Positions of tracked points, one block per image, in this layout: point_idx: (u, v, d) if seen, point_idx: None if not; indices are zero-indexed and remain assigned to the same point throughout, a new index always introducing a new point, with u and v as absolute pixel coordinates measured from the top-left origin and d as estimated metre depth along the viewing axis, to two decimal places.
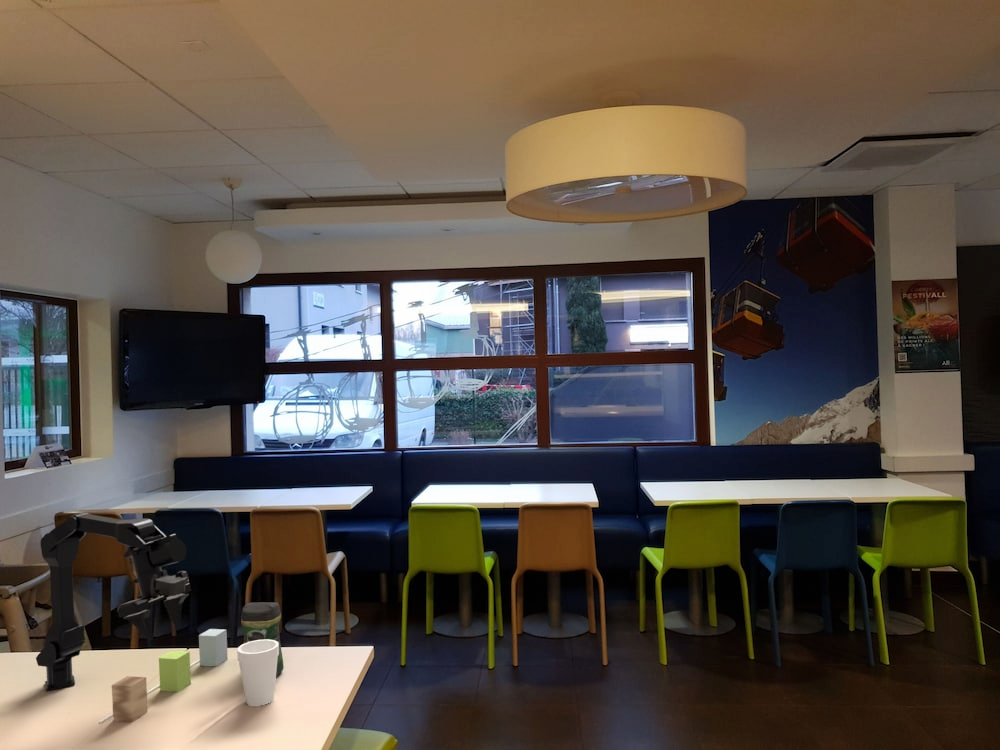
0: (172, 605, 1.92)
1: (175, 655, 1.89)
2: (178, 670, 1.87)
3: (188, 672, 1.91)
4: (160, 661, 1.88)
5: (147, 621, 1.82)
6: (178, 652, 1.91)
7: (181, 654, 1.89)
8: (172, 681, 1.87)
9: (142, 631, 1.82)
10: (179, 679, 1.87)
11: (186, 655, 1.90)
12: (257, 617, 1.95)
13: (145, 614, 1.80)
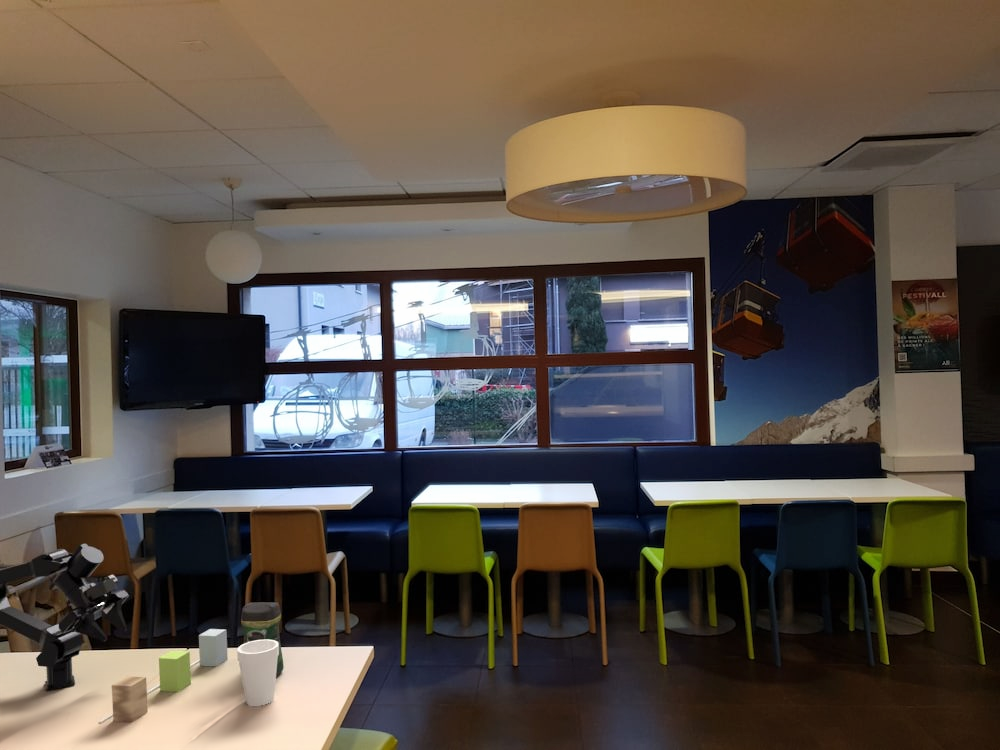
0: (112, 615, 1.98)
1: (175, 655, 1.89)
2: (178, 670, 1.87)
3: (188, 672, 1.91)
4: (160, 661, 1.88)
5: (95, 624, 1.90)
6: (178, 652, 1.91)
7: (181, 654, 1.89)
8: (172, 681, 1.87)
9: (95, 635, 1.89)
10: (179, 679, 1.87)
11: (186, 655, 1.90)
12: (257, 617, 1.95)
13: (89, 617, 1.88)
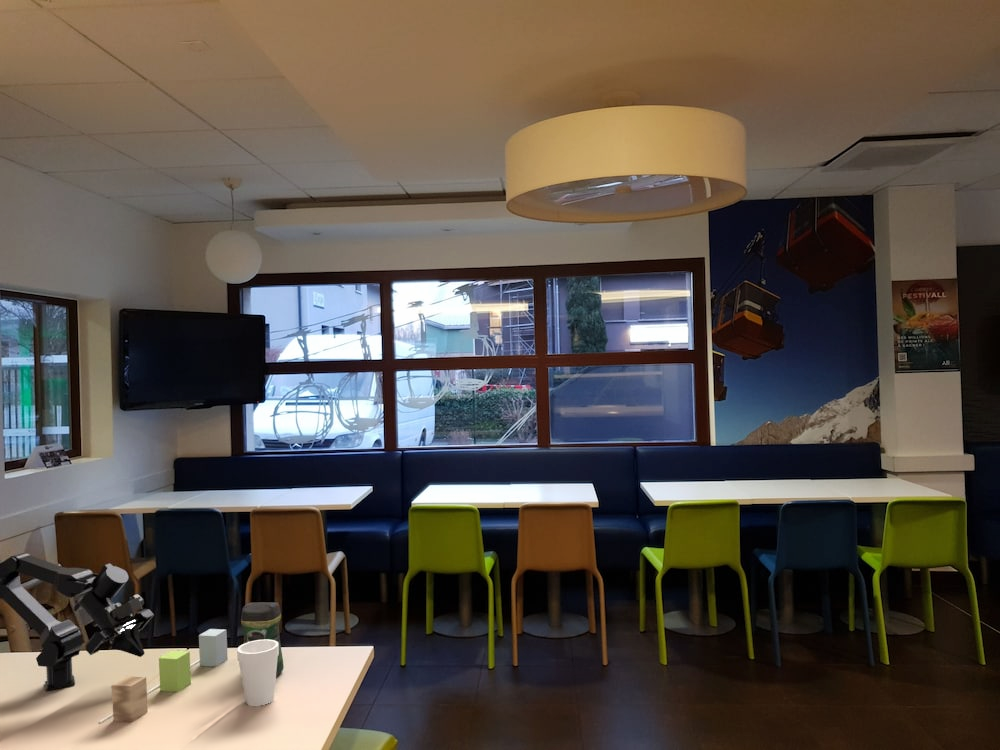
0: None
1: (175, 655, 1.89)
2: (178, 670, 1.87)
3: (188, 672, 1.91)
4: (160, 661, 1.88)
5: (131, 639, 1.91)
6: (178, 652, 1.91)
7: (181, 654, 1.89)
8: (172, 681, 1.87)
9: (131, 651, 1.91)
10: (179, 679, 1.87)
11: (186, 655, 1.90)
12: (257, 617, 1.95)
13: (125, 633, 1.90)
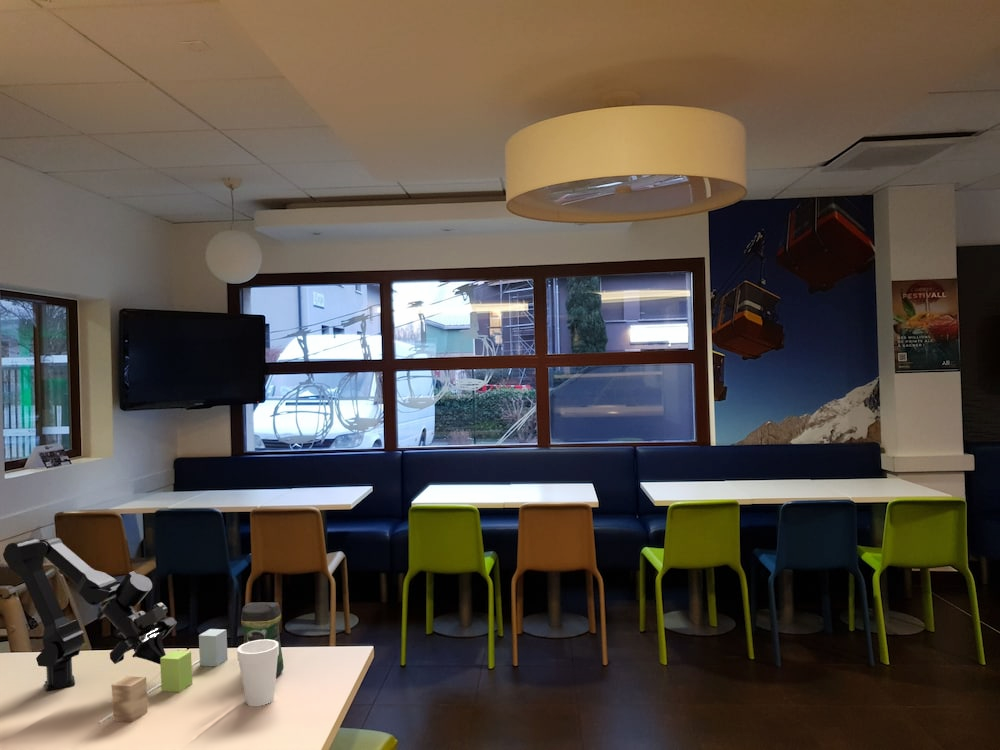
0: None
1: (176, 655, 1.89)
2: (180, 670, 1.87)
3: (189, 672, 1.91)
4: (161, 661, 1.87)
5: (155, 648, 1.90)
6: (179, 652, 1.91)
7: (182, 654, 1.89)
8: (173, 681, 1.87)
9: (155, 660, 1.90)
10: (180, 679, 1.87)
11: (188, 655, 1.90)
12: (257, 617, 1.95)
13: (149, 642, 1.89)
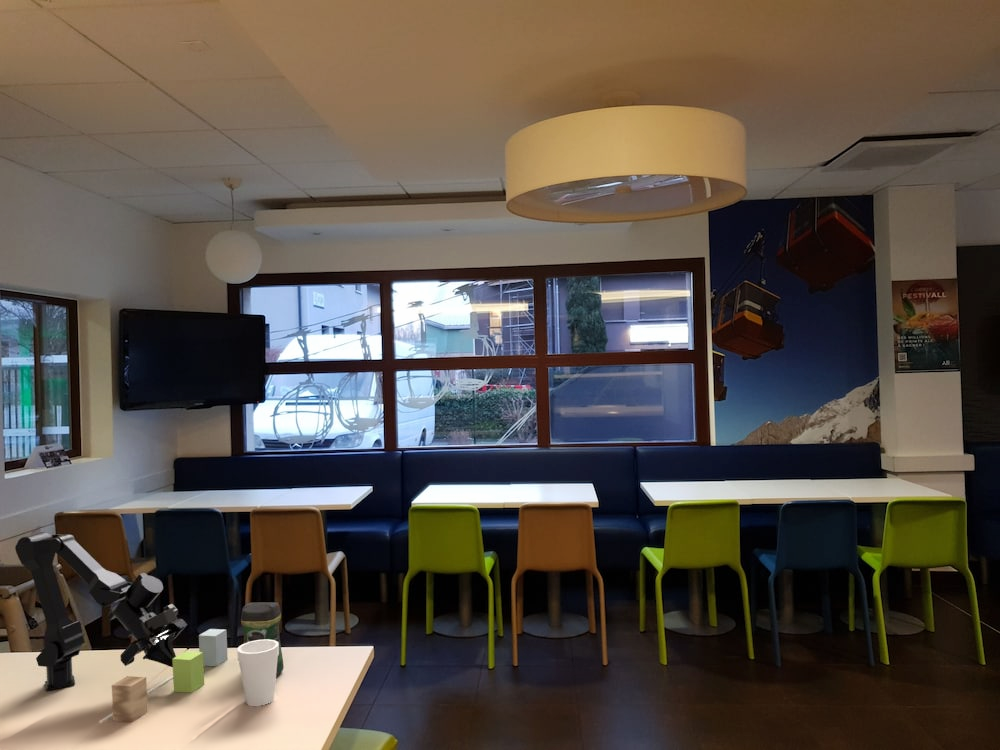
0: None
1: (188, 656, 1.88)
2: (192, 671, 1.86)
3: (201, 672, 1.90)
4: (174, 662, 1.87)
5: (165, 650, 1.89)
6: (191, 653, 1.90)
7: (194, 655, 1.89)
8: (186, 682, 1.86)
9: (165, 662, 1.89)
10: (193, 680, 1.86)
11: (200, 656, 1.89)
12: (257, 617, 1.95)
13: (160, 644, 1.88)
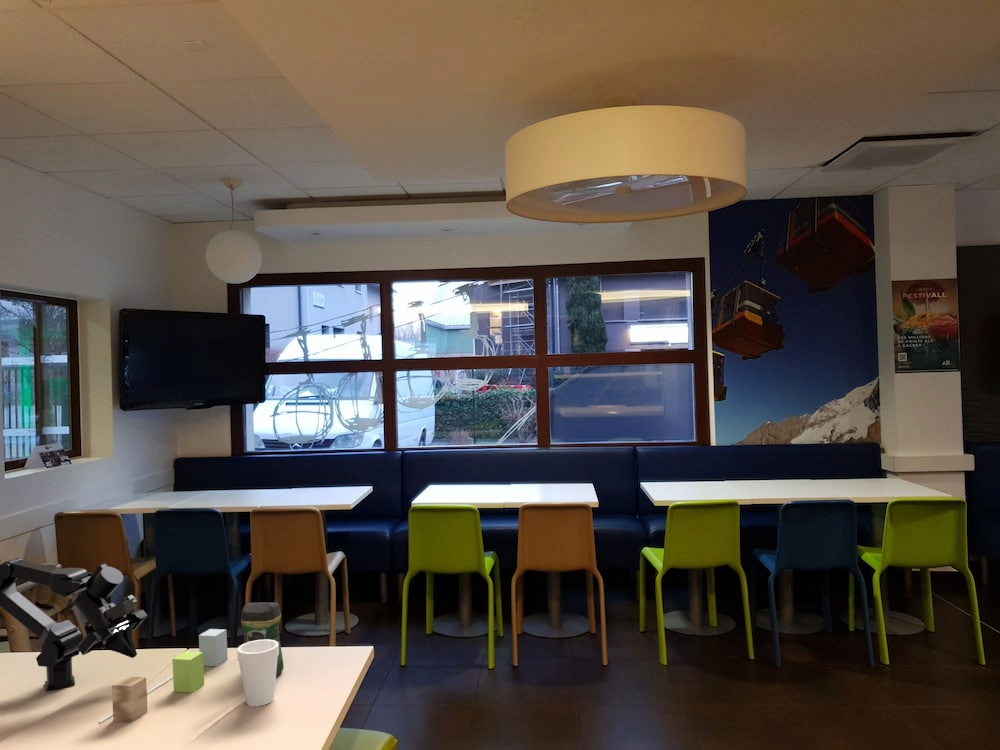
0: None
1: (188, 656, 1.88)
2: (192, 671, 1.86)
3: (201, 672, 1.90)
4: (174, 662, 1.87)
5: (124, 640, 1.92)
6: (191, 653, 1.90)
7: (194, 655, 1.89)
8: (186, 682, 1.86)
9: (124, 652, 1.92)
10: (193, 680, 1.86)
11: (200, 656, 1.89)
12: (257, 617, 1.95)
13: (118, 634, 1.90)
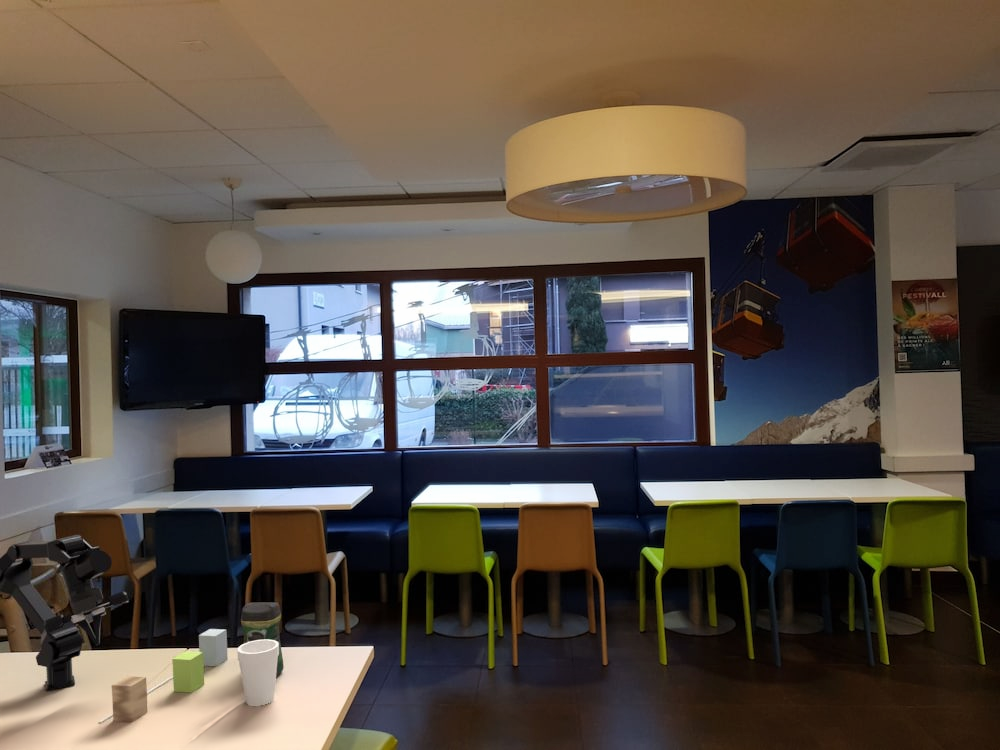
0: None
1: (188, 656, 1.88)
2: (192, 671, 1.86)
3: (201, 672, 1.90)
4: (174, 662, 1.87)
5: (87, 628, 1.90)
6: (191, 653, 1.90)
7: (194, 655, 1.89)
8: (186, 682, 1.86)
9: None
10: (193, 680, 1.86)
11: (200, 656, 1.89)
12: (257, 617, 1.95)
13: (79, 623, 1.89)
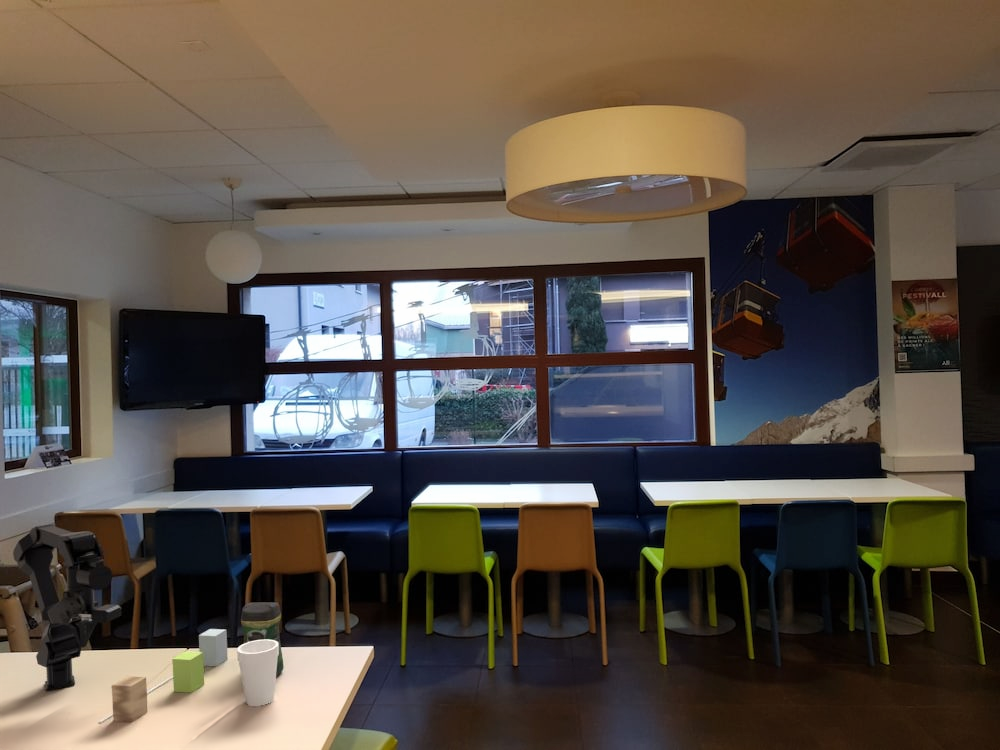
0: None
1: (188, 656, 1.88)
2: (192, 671, 1.86)
3: (201, 672, 1.90)
4: (174, 662, 1.87)
5: (74, 630, 1.89)
6: (191, 653, 1.90)
7: (194, 655, 1.89)
8: (186, 682, 1.86)
9: None
10: (193, 680, 1.86)
11: (200, 656, 1.89)
12: (257, 617, 1.95)
13: (66, 624, 1.88)
